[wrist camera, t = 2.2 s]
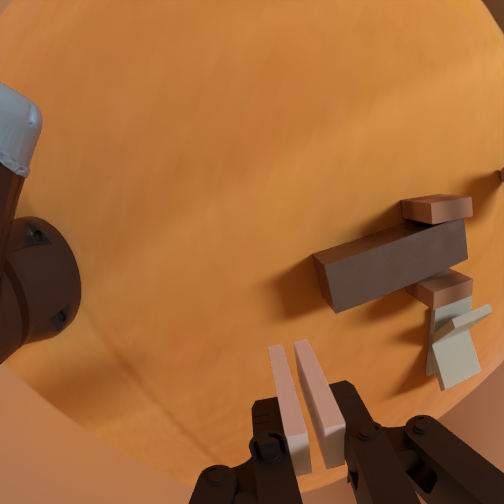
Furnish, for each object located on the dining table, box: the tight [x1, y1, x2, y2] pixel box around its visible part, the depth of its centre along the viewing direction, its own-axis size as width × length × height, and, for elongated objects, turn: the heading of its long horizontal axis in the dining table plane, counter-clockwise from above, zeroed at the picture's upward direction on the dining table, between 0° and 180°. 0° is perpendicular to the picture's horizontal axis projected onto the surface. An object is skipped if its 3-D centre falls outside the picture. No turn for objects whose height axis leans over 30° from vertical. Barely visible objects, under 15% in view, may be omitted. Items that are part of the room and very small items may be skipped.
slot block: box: [401, 194, 473, 310], centre depth 28 cm, size 6×11×6 cm, turn 11°
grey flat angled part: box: [425, 296, 493, 391], centre depth 32 cm, size 7×11×6 cm, turn 11°
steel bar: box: [312, 218, 468, 314], centre depth 29 cm, size 17×5×5 cm, turn 107°
